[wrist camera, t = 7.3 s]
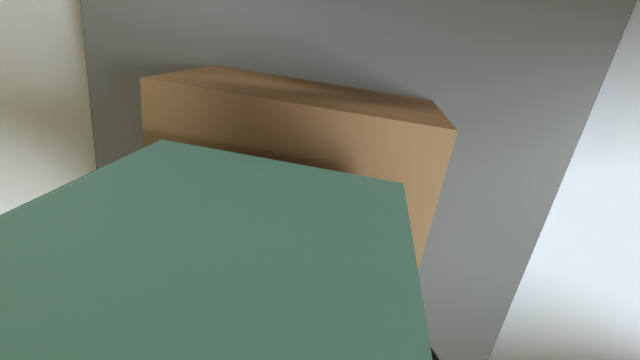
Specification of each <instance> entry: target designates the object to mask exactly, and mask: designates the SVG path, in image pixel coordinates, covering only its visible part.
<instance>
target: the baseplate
mask: <svg viewBox="0 0 640 360" xmlns="http://www.w3.org/2000/svg"><path fill="white" fill-rule="evenodd" d="M636 1H637V0H80V2H81V13H82V23H83V33H84V44H85V54H86V64H87V74H88V85H89V95H90V105H91V116H92V126H93V136H94V147H95V157H96V167H97V170H98V169H100V168H102V167H104V166H106V165H108V164H110V163H112V162H115V161H117V160H119V159H121V158H123V157H125V156H127V155H129V154H132V153H134V152H136V151H138V150H140V149H142V148H143V131H142V109H141V87H140V78H141V77H147V76H153V75H159V74H165V73H171V72H177V71H182V70H188V69H194V68H200V67H206V66H212V65H216V66H222V67H228V68H234V69H241V70H247V71H253V72H259V73H266V74H272V75H278V76H284V77H291V78H297V79H303V80H309V81H316V82H322V83H328V84H334V85H341V86H347V87H353V88H359V89H366V90H372V91H378V92H384V93H391V94H397V95H403V96H409V97H415V98H422V99H428V100H432V101H433V102H434V103H435V104H436V105H437V106H438V108H439V109H440V110H441V111H442V112H443V114H444V115H445V116H446V117H447V118H448V119H449V121H450V122H451V123H452V124H453V125H454V126H455V128H456V129H457V130H458V132H457V135H456V139H455V143H454V146H453V150H452V153H451V157H450V160H449V164H448V167H447V171H446V174H445V178H444V181H443V185H442V188H441V192H440V195H439V199H438V202H437V206H436V209H435V213H434V217H433V220H432V224H431V227H430V231H429V234H428V238H427V241H426V245H425V248H424V252H423V255H422V259H421V262H420V266H419V269H418V274H419V280H420V286H421V292H422V299H423V305H424V311H425V317H426V323H427V329H428V335H429V341H430V346H431V347H432V349H433V350H434V352H435V353H436V355H437V356H438V358H439V359H440V360H488V358H489V356H490V354H491V351H492V349H493V346H494V344H495V342H496V339H497V337H498V334H499V332H500V329H501V327H502V325H503V322H504V320H505V317H506V315H507V313H508V310H509V308H510V305H511V303H512V300H513V298H514V296H515V293H516V291H517V288H518V286H519V284H520V281H521V279H522V276H523V274H524V271H525V269H526V267H527V264H528V262H529V259H530V257H531V255H532V252H533V250H534V247H535V245H536V242H537V240H538V238H539V235H540V233H541V230H542V228H543V226H544V223H545V221H546V218H547V216H548V213H549V211H550V209H551V206H552V204H553V201H554V199H555V197H556V194H557V192H558V189H559V187H560V185H561V182H562V180H563V177H564V175H565V172H566V170H567V168H568V165H569V163H570V160H571V158H572V156H573V153H574V151H575V148H576V146H577V143H578V141H579V139H580V136H581V134H582V131H583V129H584V127H585V124H586V122H587V119H588V117H589V114H590V112H591V110H592V107H593V105H594V102H595V100H596V98H597V95H598V93H599V90H600V88H601V85H602V83H603V81H604V78H605V76H606V73H607V71H608V69H609V66H610V64H611V61H612V59H613V56H614V54H615V52H616V49H617V47H618V44H619V42H620V40H621V37H622V35H623V32H624V30H625V28H626V25H627V23H628V20H629V18H630V15H631V13H632V11H633V8H634V6H635V3H636Z"/></svg>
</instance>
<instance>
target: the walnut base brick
mask: <svg viewBox="0 0 640 360" xmlns="http://www.w3.org/2000/svg"><path fill="white" fill-rule="evenodd" d="M140 87H141V109H142V131H143V148H144V147H146V146H149V145H151V144H153V143H155V142H157V141H159V140H161V139H162V140H168V141H173V142H179V143H184V144H190V145H195V146H201V147H207V148H212V149H218V150H223V151H229V152H234V153H240V154H245V155H251V156H256V157H262V158H267V159H273V160H278V161H284V162H289V163H295V164H300V165H306V166H311V167H317V168H322V169H328V170H333V171H339V172H344V173H350V174H355V175H361V176H366V177H372V178H377V179H383V180H388V181H394V182H399V183H404V189H405V195H406V201H407V208H408V214H409V220H410V226H411V232H412V238H413V244H414V250H415V256H416V262H417V268H418V269H419V266H420V262H421V259H422V255H423V252H424V248H425V245H426V241H427V238H428V234H429V231H430V227H431V224H432V220H433V217H434V213H435V209H436V206H437V202H438V199H439V195H440V192H441V188H442V185H443V181H444V178H445V174H446V171H447V167H448V164H449V160H450V157H451V153H452V150H453V146H454V143H455V139H456V135H457V132H458V130H457V129H456V128H455V126H454V125H453V124H452V123H451V122H450V121H449V119H448V118H447V117H446V116H445V115H444V114H443V112H442V111H441V110H440V109H439V108H438V106H437V105H436V104H435V103H434V102H433V101H432V100H428V99H422V98H415V97H409V96H403V95H397V94H391V93H384V92H378V91H372V90H366V89H359V88H353V87H347V86H341V85H334V84H328V83H322V82H316V81H309V80H303V79H297V78H291V77H284V76H278V75H272V74H266V73H259V72H253V71H247V70H241V69H234V68H228V67H222V66H216V65H212V66H206V67H200V68H194V69H188V70H182V71H177V72H171V73H165V74H159V75H153V76H147V77H141V78H140Z"/></svg>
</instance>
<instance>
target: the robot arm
mask: <svg viewBox="0 0 640 360" xmlns="http://www.w3.org/2000/svg"><path fill="white" fill-rule="evenodd" d="M430 347H431V346H430ZM431 353H432V359H433V360H440V359H439V358H438V356H437V355H436V353H435V352H434V350H433V349H432V347H431Z"/></svg>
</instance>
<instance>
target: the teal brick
mask: <svg viewBox="0 0 640 360" xmlns="http://www.w3.org/2000/svg"><path fill="white" fill-rule="evenodd" d="M0 360H433V359H432V353H431V347H430V341H429V335H428V329H427V323H426V317H425V311H424V305H423V299H422V292H421V286H420V280H419V274H418V268H417V262H416V256H415V250H414V244H413V238H412V232H411V226H410V220H409V214H408V208H407V201H406V195H405V189H404V183H399V182H394V181H388V180H383V179H377V178H372V177H366V176H361V175H355V174H350V173H344V172H339V171H333V170H328V169H322V168H317V167H311V166H306V165H300V164H295V163H289V162H284V161H278V160H273V159H267V158H262V157H256V156H251V155H245V154H240V153H234V152H229V151H223V150H218V149H212V148H207V147H201V146H195V145H190V144H184V143H179V142H173V141H168V140H162V139H161V140H159V141H157V142H155V143H153V144H151V145H149V146H146V147H144V148H142V149H140V150H138V151H136V152H134V153H132V154H129V155H127V156H125V157H123V158H121V159H119V160H117V161H115V162H112V163H110V164H108V165H106V166H104V167H102V168H100V169H98V170H95V171H93V172H91V173H89V174H87V175H85V176H83V177H80V178H78V179H76V180H74V181H72V182H70V183H68V184H66V185H63V186H61V187H59V188H57V189H55V190H53V191H51V192H49V193H46V194H44V195H42V196H40V197H38V198H36V199H34V200H32V201H29V202H27V203H25V204H23V205H21V206H19V207H17V208H15V209H12V210H10V211H8V212H6V213H4V214H2V215H0Z"/></svg>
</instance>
